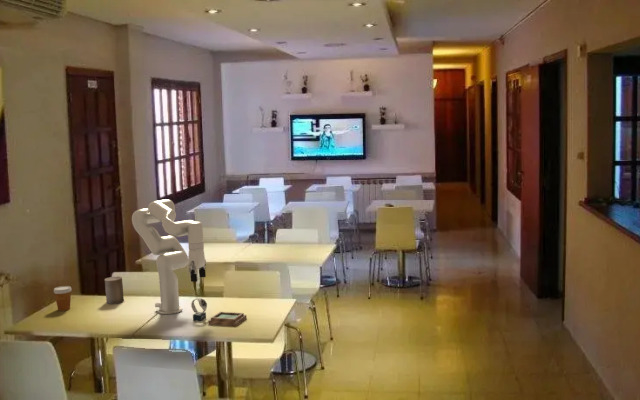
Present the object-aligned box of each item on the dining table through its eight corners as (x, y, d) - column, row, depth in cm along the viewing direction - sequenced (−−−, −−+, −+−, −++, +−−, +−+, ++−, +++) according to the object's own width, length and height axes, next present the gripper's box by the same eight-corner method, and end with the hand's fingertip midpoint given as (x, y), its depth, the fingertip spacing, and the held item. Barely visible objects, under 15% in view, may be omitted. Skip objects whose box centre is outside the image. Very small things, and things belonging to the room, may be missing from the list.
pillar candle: (127, 299, 422) (125, 274, 420) (118, 304, 413) (116, 278, 411) (111, 299, 424) (109, 274, 423) (103, 304, 415) (100, 278, 413)
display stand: (208, 324, 367) (208, 318, 367) (219, 317, 380) (219, 311, 379) (236, 326, 363) (235, 319, 362) (246, 318, 375) (246, 312, 375)
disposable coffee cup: (51, 311, 404) (49, 289, 403) (63, 306, 413) (61, 285, 411) (65, 312, 400) (63, 290, 399) (76, 307, 409) (75, 286, 408)
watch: (204, 321, 373) (202, 300, 372) (190, 320, 376) (188, 299, 374) (209, 318, 378) (208, 297, 377) (195, 317, 381) (194, 296, 380)
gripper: (197, 243, 382) (199, 275, 384) (181, 249, 365) (183, 283, 367) (210, 243, 380) (212, 275, 382) (195, 249, 363) (197, 283, 365)
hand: (198, 279), depth 375 cm, fingers open, 9 cm apart
